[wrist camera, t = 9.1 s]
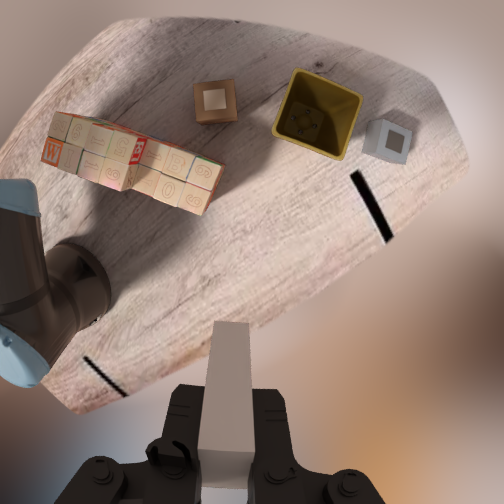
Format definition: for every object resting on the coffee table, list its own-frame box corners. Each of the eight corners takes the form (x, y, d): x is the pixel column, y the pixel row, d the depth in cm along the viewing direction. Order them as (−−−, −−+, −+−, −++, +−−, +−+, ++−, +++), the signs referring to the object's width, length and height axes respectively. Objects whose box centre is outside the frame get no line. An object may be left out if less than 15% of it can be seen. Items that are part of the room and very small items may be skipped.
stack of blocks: (227, 164, 39) (220, 167, 28) (210, 204, 41) (197, 225, 30) (98, 117, 36) (53, 110, 24) (85, 156, 38) (38, 161, 26)
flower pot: (284, 83, 36) (295, 65, 27) (340, 106, 37) (365, 95, 28) (263, 138, 38) (270, 134, 30) (321, 160, 39) (342, 162, 31)
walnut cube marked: (201, 125, 37) (195, 121, 32) (198, 92, 36) (192, 83, 31) (237, 121, 37) (237, 116, 33) (234, 87, 36) (233, 78, 31)
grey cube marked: (361, 152, 39) (376, 152, 34) (368, 121, 38) (383, 118, 33) (389, 162, 40) (405, 164, 35) (395, 132, 38) (413, 131, 33)
